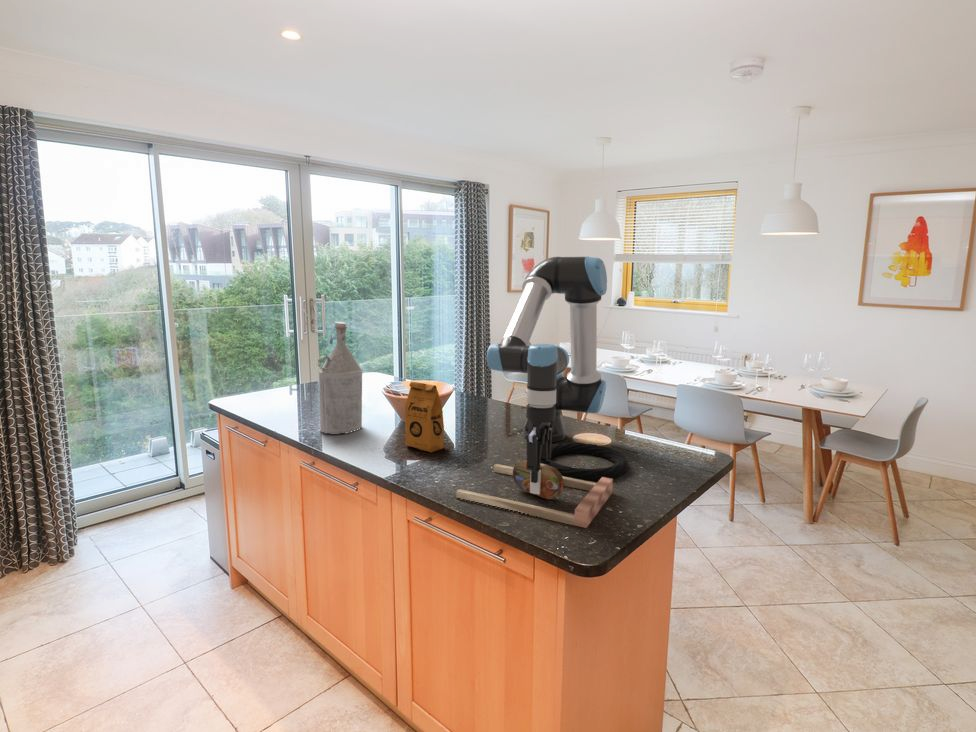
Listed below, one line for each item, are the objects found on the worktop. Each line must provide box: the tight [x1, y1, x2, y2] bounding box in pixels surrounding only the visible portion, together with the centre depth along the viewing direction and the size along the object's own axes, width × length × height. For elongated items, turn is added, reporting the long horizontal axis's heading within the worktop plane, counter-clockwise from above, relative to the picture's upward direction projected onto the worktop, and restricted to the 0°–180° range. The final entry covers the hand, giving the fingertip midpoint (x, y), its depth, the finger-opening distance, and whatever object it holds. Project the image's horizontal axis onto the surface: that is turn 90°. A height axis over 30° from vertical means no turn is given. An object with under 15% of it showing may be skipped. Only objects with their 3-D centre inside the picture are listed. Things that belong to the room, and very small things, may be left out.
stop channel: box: [456, 463, 614, 529], centre depth 147 cm, size 24×35×4 cm
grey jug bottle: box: [317, 321, 363, 435], centre depth 201 cm, size 13×17×40 cm
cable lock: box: [546, 442, 629, 482], centre depth 172 cm, size 28×4×30 cm
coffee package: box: [404, 380, 445, 453], centre depth 183 cm, size 10×12×22 cm
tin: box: [512, 459, 564, 500], centre depth 146 cm, size 15×3×8 cm, turn 49°
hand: (538, 490), depth 147 cm, fingers closed on tin, 3 cm apart
